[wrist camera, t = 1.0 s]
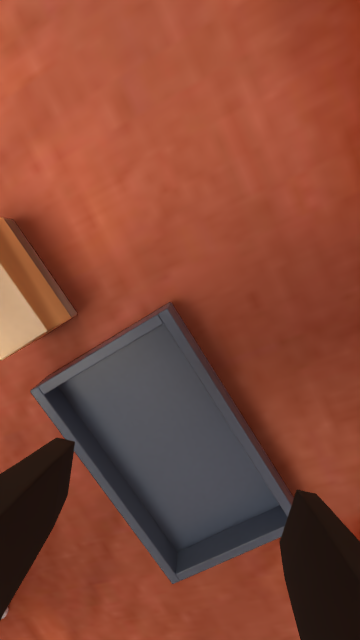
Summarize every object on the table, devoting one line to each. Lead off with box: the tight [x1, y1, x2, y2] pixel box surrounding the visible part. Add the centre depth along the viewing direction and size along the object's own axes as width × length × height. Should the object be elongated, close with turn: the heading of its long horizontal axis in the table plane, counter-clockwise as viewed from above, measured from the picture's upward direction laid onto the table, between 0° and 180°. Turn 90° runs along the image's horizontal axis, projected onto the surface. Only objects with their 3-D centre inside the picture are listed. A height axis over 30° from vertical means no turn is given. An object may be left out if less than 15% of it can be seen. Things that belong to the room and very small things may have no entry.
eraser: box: [0, 217, 77, 360], centre depth 18 cm, size 3×6×4 cm, turn 32°
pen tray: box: [30, 302, 294, 584], centre depth 20 cm, size 9×15×2 cm, turn 32°
